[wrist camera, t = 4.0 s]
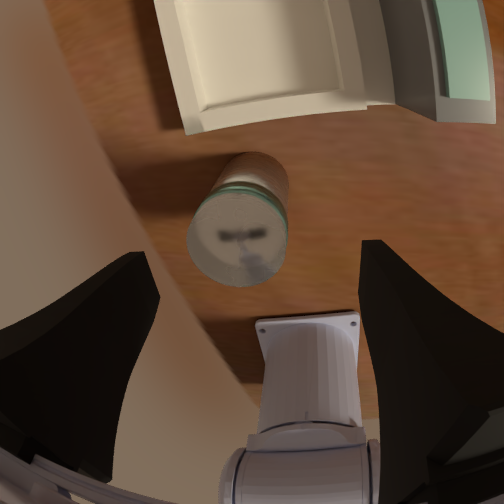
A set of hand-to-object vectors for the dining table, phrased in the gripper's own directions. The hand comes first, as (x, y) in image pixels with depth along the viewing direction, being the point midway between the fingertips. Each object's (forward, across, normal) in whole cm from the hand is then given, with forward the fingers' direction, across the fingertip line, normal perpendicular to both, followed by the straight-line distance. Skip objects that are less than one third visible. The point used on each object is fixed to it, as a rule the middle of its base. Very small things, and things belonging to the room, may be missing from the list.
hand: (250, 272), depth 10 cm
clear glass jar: (+9, +1, 0) cm, 9 cm away
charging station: (+9, -3, -8) cm, 13 cm away
